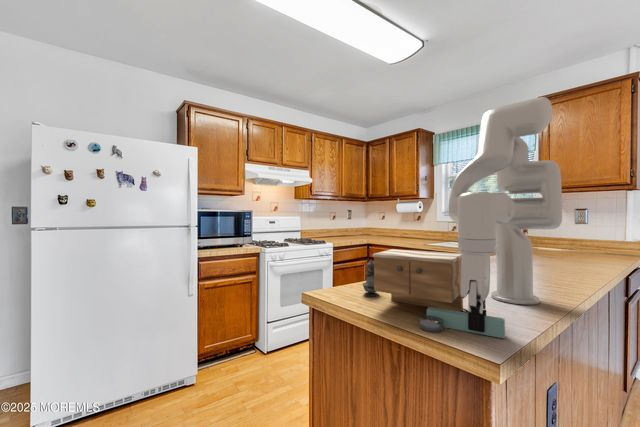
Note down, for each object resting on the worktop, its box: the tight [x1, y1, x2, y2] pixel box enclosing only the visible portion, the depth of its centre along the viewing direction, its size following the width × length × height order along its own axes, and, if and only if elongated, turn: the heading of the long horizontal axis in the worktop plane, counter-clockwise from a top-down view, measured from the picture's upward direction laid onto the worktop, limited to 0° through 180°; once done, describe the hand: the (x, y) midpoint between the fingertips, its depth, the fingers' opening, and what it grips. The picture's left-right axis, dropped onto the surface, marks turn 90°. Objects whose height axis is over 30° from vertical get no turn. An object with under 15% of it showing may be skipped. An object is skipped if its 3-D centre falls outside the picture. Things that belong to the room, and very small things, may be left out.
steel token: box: [419, 314, 444, 334], centre depth 68 cm, size 5×5×2 cm
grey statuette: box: [362, 259, 380, 298], centre depth 98 cm, size 6×6×12 cm
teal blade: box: [426, 307, 506, 339], centre depth 68 cm, size 2×16×4 cm, turn 54°
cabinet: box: [372, 248, 464, 312], centre depth 81 cm, size 15×21×16 cm
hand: (477, 327), depth 66 cm, fingers closed on teal blade, 2 cm apart
